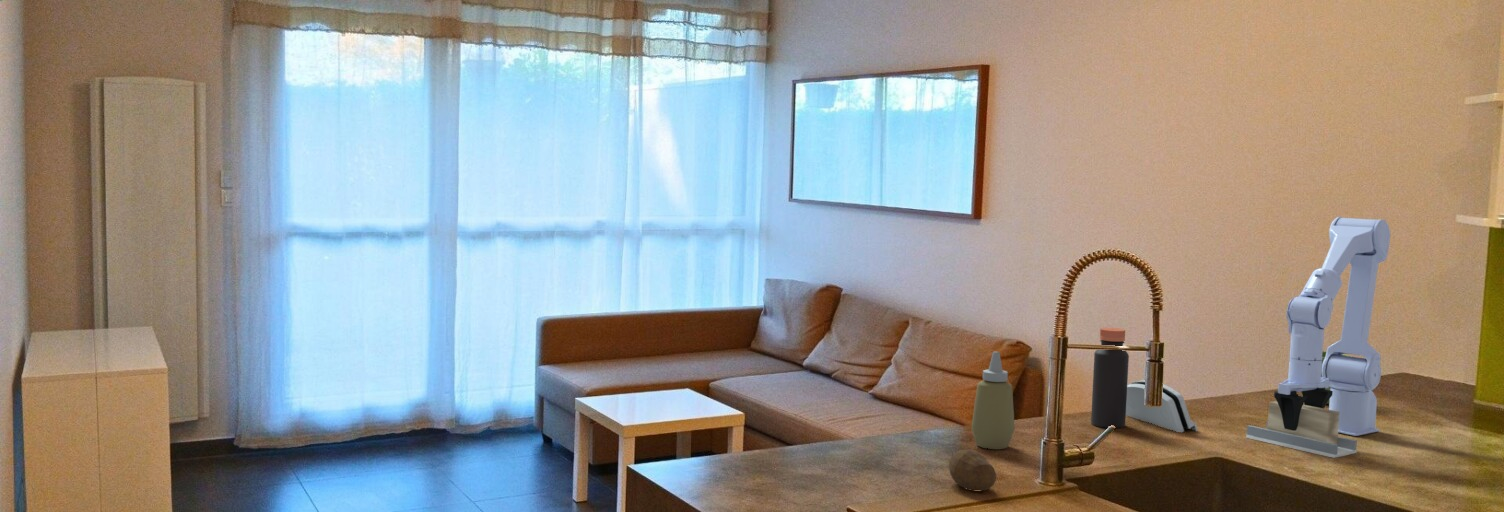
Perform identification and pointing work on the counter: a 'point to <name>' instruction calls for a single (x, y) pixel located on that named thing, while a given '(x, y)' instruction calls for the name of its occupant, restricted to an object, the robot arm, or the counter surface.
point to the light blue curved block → (1159, 408)
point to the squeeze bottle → (993, 408)
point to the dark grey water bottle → (1110, 381)
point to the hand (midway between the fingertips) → (1301, 427)
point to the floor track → (1303, 442)
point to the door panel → (1308, 423)
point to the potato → (972, 470)
